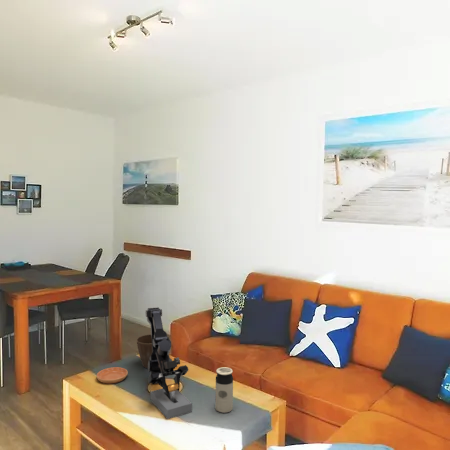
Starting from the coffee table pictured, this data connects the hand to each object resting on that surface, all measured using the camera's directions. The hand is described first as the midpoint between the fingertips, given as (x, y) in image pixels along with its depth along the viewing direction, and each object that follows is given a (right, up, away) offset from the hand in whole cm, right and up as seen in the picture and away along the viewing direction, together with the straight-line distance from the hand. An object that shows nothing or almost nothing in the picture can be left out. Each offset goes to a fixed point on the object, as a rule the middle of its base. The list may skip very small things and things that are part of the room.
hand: (173, 391), depth 182 cm
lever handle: (-1, -7, +2) cm, 7 cm away
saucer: (-37, -6, +31) cm, 48 cm away
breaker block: (-2, -8, +3) cm, 9 cm away
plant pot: (-20, -5, +47) cm, 52 cm away
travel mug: (+23, -8, +1) cm, 25 cm away
